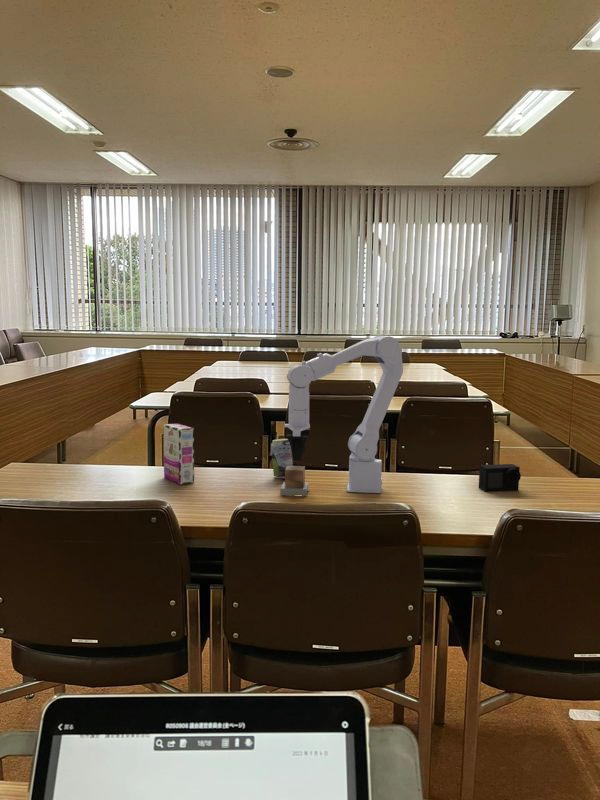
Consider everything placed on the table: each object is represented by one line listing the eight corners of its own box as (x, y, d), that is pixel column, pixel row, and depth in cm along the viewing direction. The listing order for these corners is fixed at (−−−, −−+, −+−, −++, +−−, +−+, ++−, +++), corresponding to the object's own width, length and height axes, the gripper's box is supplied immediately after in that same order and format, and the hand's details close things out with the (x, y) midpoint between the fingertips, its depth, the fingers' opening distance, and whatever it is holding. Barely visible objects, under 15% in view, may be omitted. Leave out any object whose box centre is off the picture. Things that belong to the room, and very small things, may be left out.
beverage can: (285, 481, 192) (285, 442, 190) (266, 477, 196) (266, 438, 195) (298, 477, 197) (298, 438, 195) (279, 473, 201) (279, 435, 200)
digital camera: (487, 493, 182) (488, 469, 181) (478, 488, 187) (479, 464, 186) (520, 491, 184) (522, 467, 183) (511, 486, 189) (512, 463, 188)
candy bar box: (195, 483, 190) (194, 427, 187) (179, 485, 187) (179, 429, 184) (178, 475, 198) (177, 422, 196) (163, 477, 195) (162, 424, 193)
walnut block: (304, 483, 182) (304, 466, 182) (303, 488, 177) (303, 470, 177) (287, 483, 183) (287, 465, 182) (285, 487, 178) (285, 469, 177)
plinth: (308, 489, 183) (308, 482, 183) (306, 496, 176) (306, 489, 176) (283, 488, 184) (283, 482, 184) (280, 495, 177) (280, 488, 177)
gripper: (287, 405, 186) (287, 451, 188) (281, 412, 172) (281, 462, 173) (311, 405, 185) (311, 451, 187) (308, 413, 171) (307, 463, 173)
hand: (298, 457), depth 180 cm, fingers open, 7 cm apart
